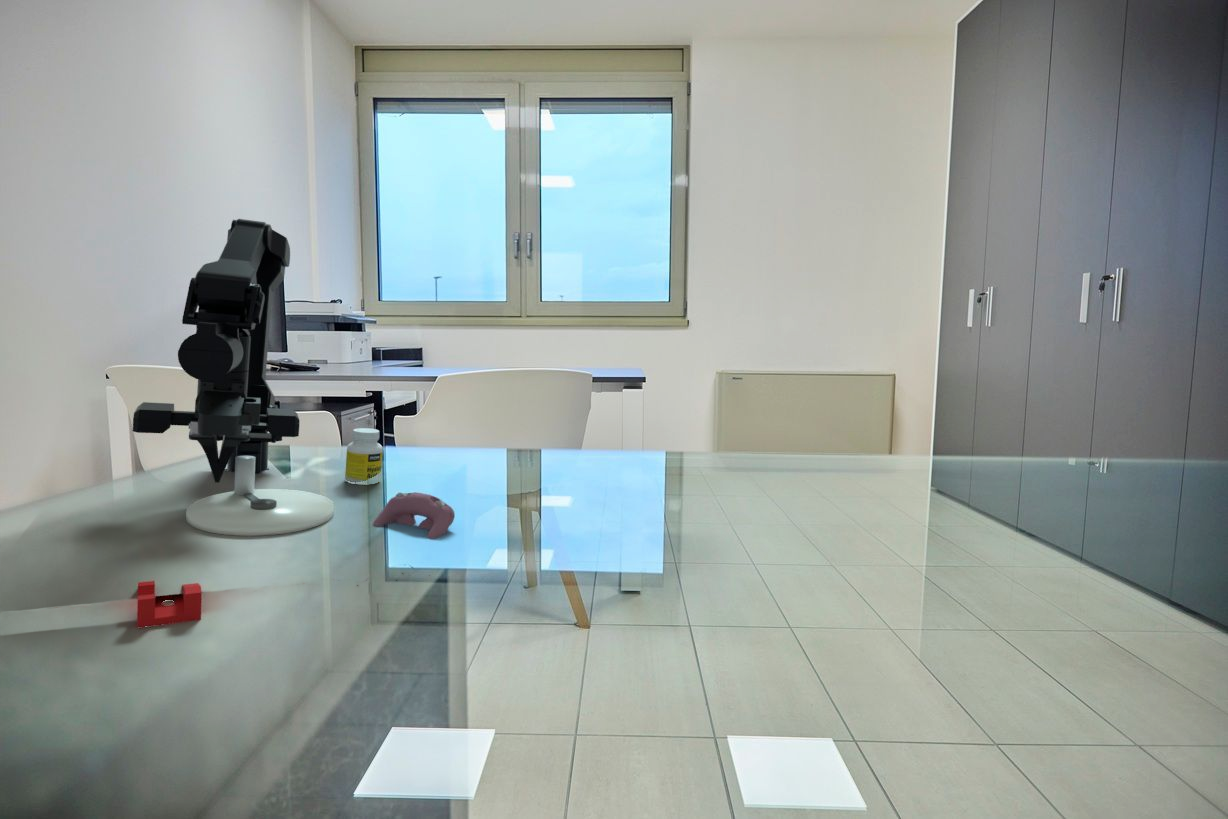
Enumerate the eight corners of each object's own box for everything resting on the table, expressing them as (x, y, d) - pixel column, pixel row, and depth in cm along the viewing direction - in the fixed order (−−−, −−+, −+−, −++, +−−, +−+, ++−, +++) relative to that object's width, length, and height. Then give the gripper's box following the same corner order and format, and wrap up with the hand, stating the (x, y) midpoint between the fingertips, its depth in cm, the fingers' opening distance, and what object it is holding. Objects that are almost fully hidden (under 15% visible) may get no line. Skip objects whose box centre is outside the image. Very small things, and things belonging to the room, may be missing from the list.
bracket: (200, 623, 62) (201, 592, 62) (137, 632, 59) (137, 600, 59) (196, 596, 67) (197, 567, 67) (137, 603, 65) (138, 573, 64)
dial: (231, 491, 96) (232, 449, 95) (352, 502, 97) (354, 461, 96) (154, 528, 79) (155, 478, 78) (301, 541, 80) (303, 492, 79)
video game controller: (447, 554, 89) (463, 503, 91) (431, 548, 85) (448, 495, 87) (384, 539, 92) (401, 490, 94) (365, 533, 88) (383, 482, 90)
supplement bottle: (368, 496, 105) (371, 435, 104) (337, 491, 106) (340, 430, 105) (386, 488, 110) (390, 430, 109) (357, 483, 111) (360, 425, 110)
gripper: (129, 373, 77) (124, 503, 80) (306, 384, 86) (297, 500, 89) (140, 358, 87) (136, 474, 89) (299, 370, 96) (291, 475, 98)
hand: (217, 481), depth 91 cm, fingers closed
